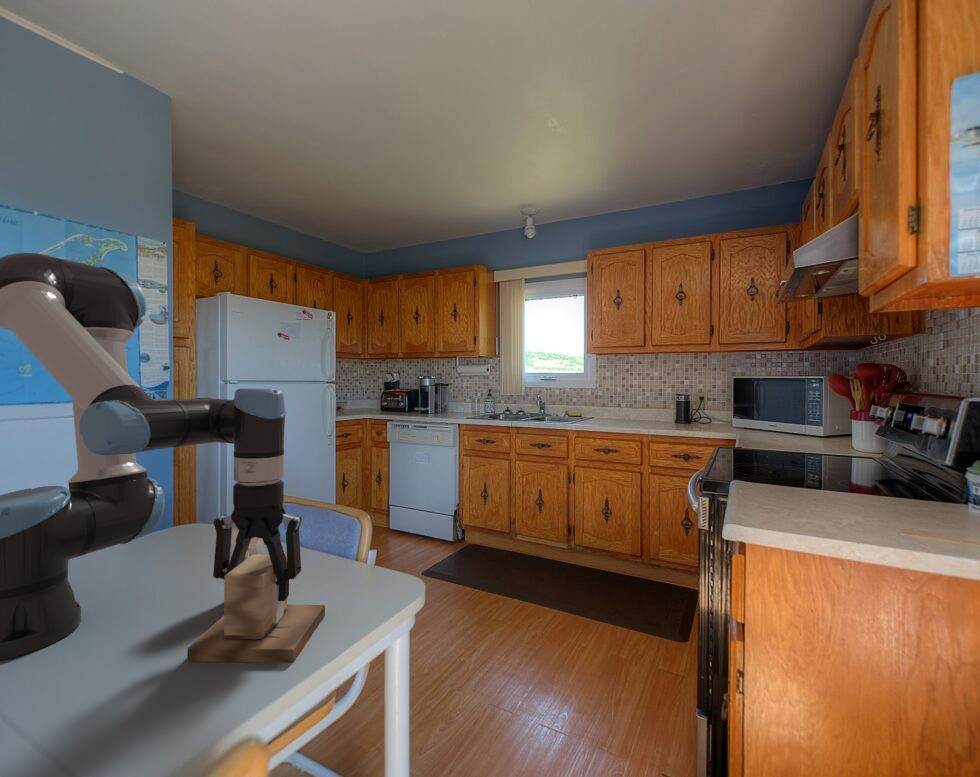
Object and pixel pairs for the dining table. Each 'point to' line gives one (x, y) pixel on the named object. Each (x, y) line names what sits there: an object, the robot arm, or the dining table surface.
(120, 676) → the dining table surface
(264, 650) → the board
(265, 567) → the block
